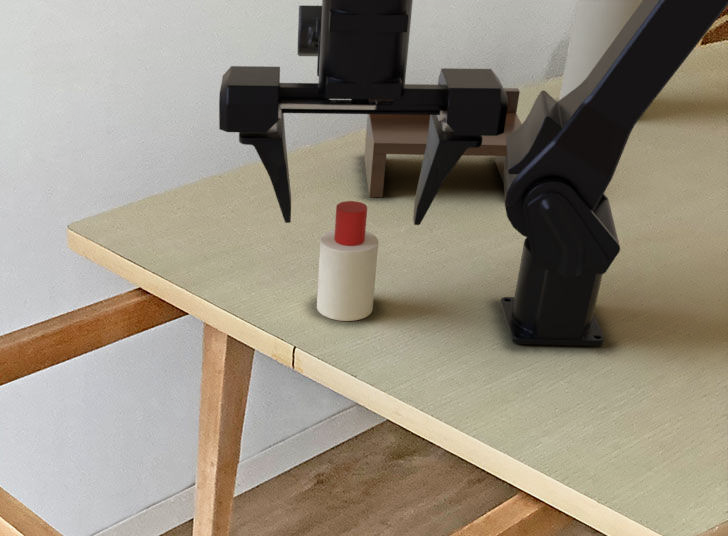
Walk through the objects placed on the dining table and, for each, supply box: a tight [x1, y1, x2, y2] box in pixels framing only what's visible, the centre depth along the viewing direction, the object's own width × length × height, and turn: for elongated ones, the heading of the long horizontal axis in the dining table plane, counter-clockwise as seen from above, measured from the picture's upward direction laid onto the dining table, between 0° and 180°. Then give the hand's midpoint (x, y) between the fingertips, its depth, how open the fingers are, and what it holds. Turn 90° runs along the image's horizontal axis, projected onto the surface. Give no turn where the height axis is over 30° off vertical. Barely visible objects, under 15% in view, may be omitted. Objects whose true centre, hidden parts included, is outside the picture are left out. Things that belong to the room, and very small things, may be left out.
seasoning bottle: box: [316, 200, 379, 322], centre depth 79 cm, size 4×4×8 cm
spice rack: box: [363, 87, 523, 198], centre depth 100 cm, size 10×14×7 cm
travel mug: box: [558, 0, 643, 101], centre depth 113 cm, size 8×8×18 cm
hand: (351, 221), depth 77 cm, fingers open, 9 cm apart
